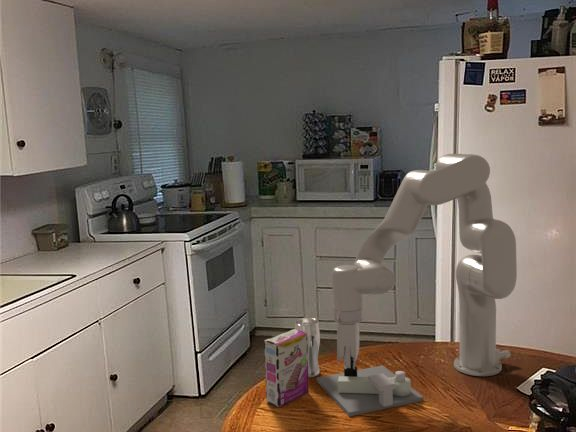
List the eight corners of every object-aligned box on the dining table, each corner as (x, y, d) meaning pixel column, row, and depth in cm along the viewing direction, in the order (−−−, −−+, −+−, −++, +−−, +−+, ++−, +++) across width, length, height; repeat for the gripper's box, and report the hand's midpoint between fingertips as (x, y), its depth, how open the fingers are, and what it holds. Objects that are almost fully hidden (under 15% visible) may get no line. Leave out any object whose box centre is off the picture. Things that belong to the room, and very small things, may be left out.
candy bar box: (280, 408, 137) (276, 344, 135) (265, 402, 141) (262, 340, 139) (310, 392, 145) (307, 331, 143) (296, 387, 149) (293, 327, 146)
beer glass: (319, 378, 153) (317, 325, 151) (294, 377, 155) (291, 325, 153) (322, 368, 160) (320, 317, 158) (298, 367, 161) (296, 317, 159)
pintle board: (382, 368, 158) (382, 347, 157) (424, 401, 137) (424, 377, 137) (316, 381, 152) (315, 359, 151) (350, 417, 131) (349, 392, 130)
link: (410, 387, 142) (410, 369, 142) (411, 396, 138) (411, 377, 137) (339, 385, 146) (338, 367, 145) (337, 394, 141) (337, 375, 140)
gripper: (337, 305, 151) (340, 369, 154) (329, 323, 137) (332, 394, 140) (365, 305, 150) (367, 370, 152) (360, 324, 135) (363, 395, 138)
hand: (351, 381), depth 146 cm, fingers closed
